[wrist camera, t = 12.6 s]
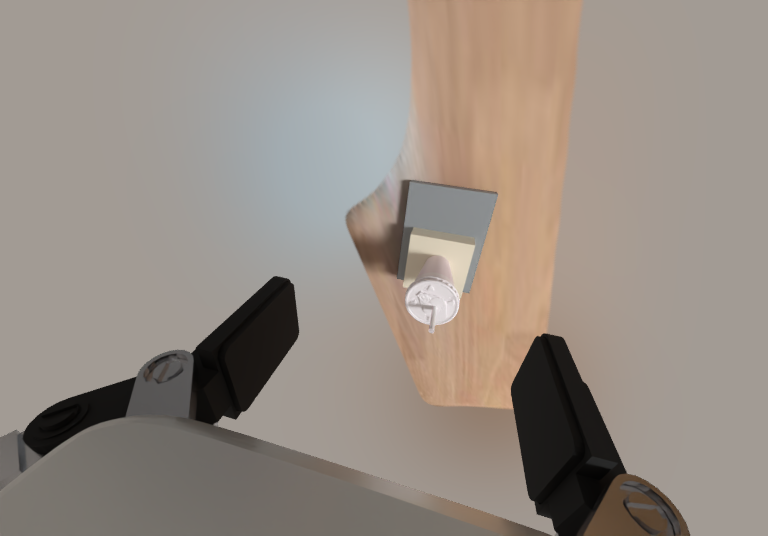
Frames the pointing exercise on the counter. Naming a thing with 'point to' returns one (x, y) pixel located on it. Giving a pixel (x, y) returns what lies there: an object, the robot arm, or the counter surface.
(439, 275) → the smoothie
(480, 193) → the base board
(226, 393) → the robot arm
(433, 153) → the counter surface
